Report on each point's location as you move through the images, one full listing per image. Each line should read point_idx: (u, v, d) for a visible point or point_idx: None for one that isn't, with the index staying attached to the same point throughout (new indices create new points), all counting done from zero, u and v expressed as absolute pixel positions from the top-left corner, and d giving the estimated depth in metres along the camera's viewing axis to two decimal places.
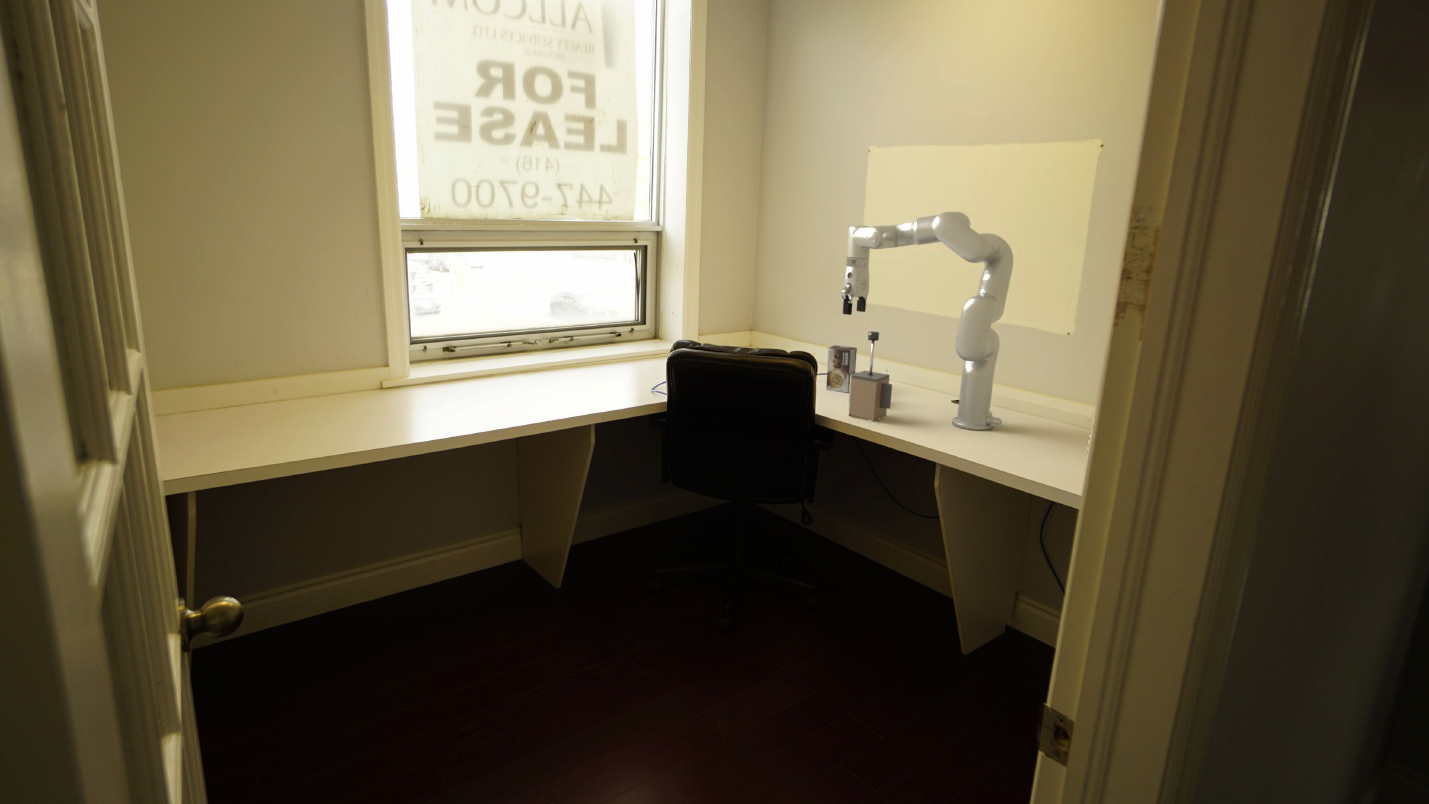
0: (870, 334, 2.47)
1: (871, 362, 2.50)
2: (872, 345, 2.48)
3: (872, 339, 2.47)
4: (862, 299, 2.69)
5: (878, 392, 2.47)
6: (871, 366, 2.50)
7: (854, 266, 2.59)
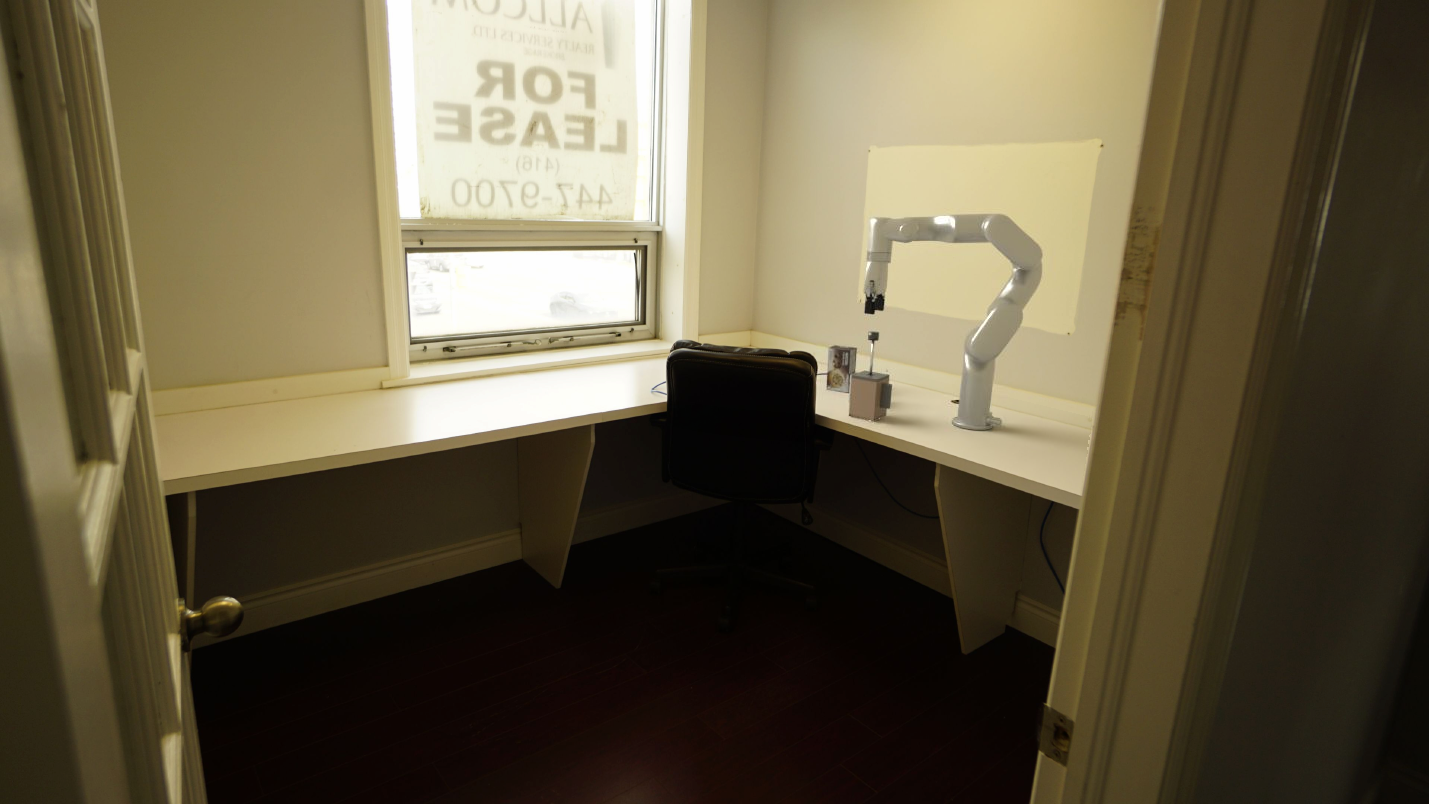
0: (870, 334, 2.47)
1: (871, 362, 2.50)
2: (872, 345, 2.48)
3: (872, 339, 2.47)
4: None
5: (878, 392, 2.47)
6: (871, 366, 2.50)
7: None
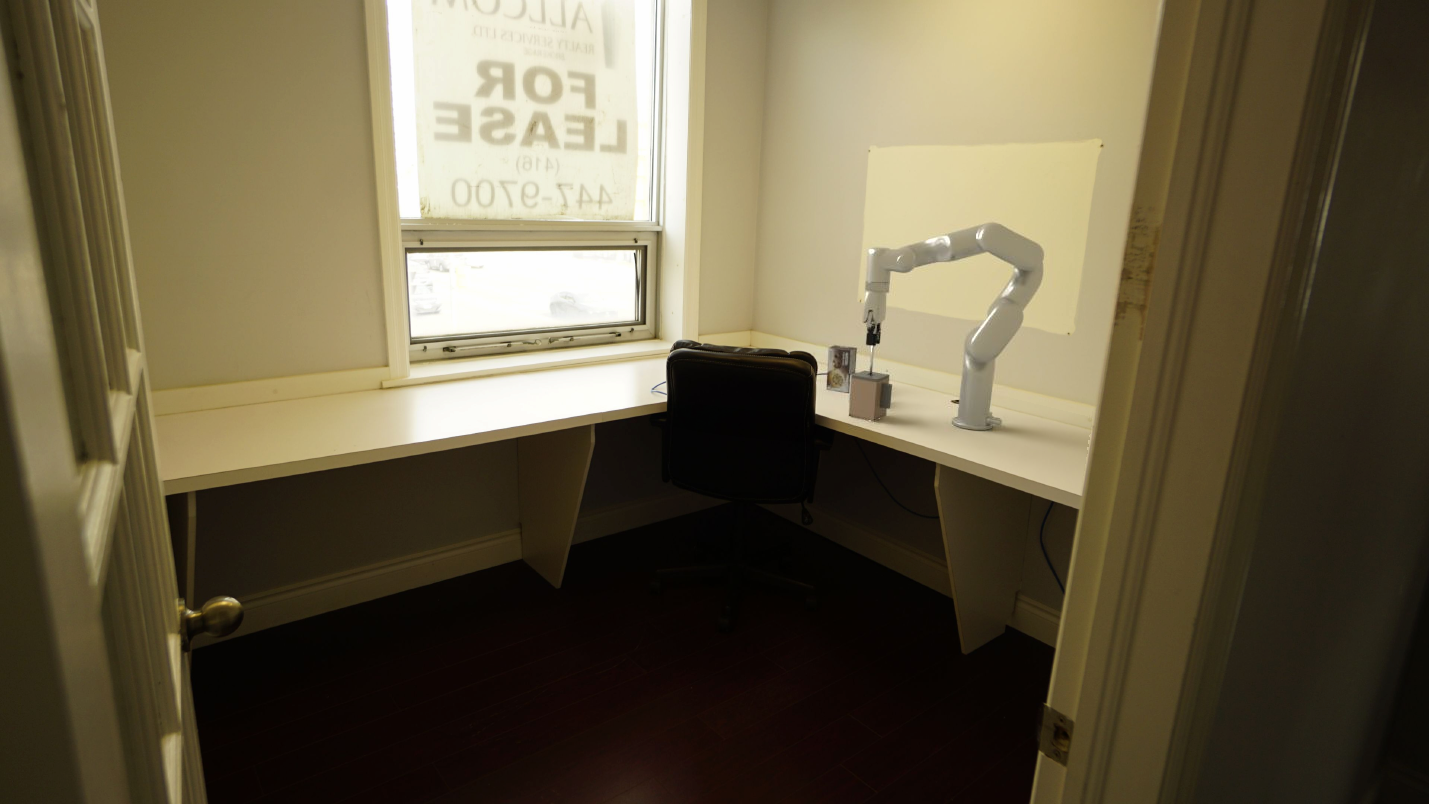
0: None
1: (871, 362, 2.50)
2: None
3: None
4: None
5: (878, 392, 2.47)
6: (871, 366, 2.50)
7: None
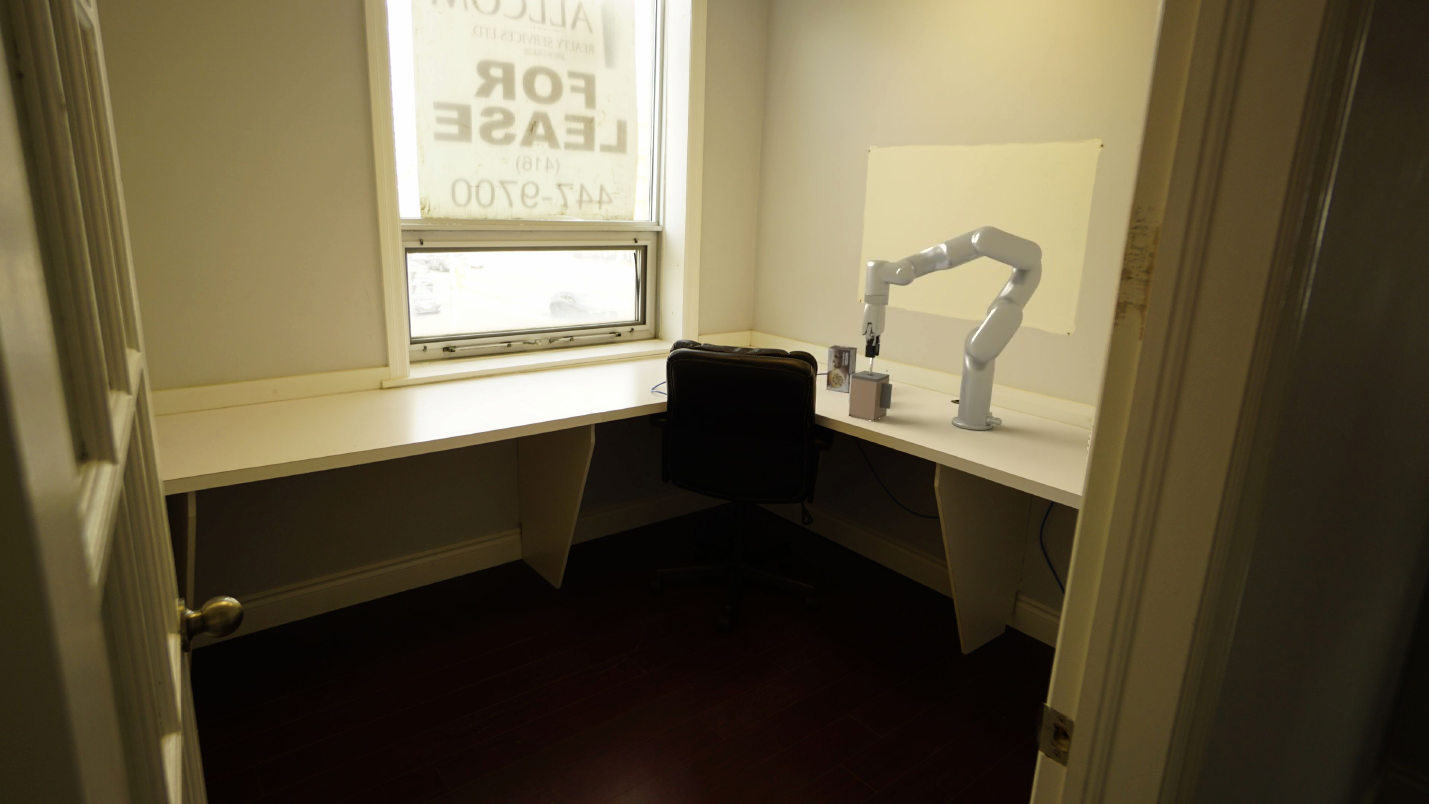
0: None
1: (870, 374, 2.51)
2: None
3: None
4: None
5: (878, 392, 2.47)
6: None
7: None
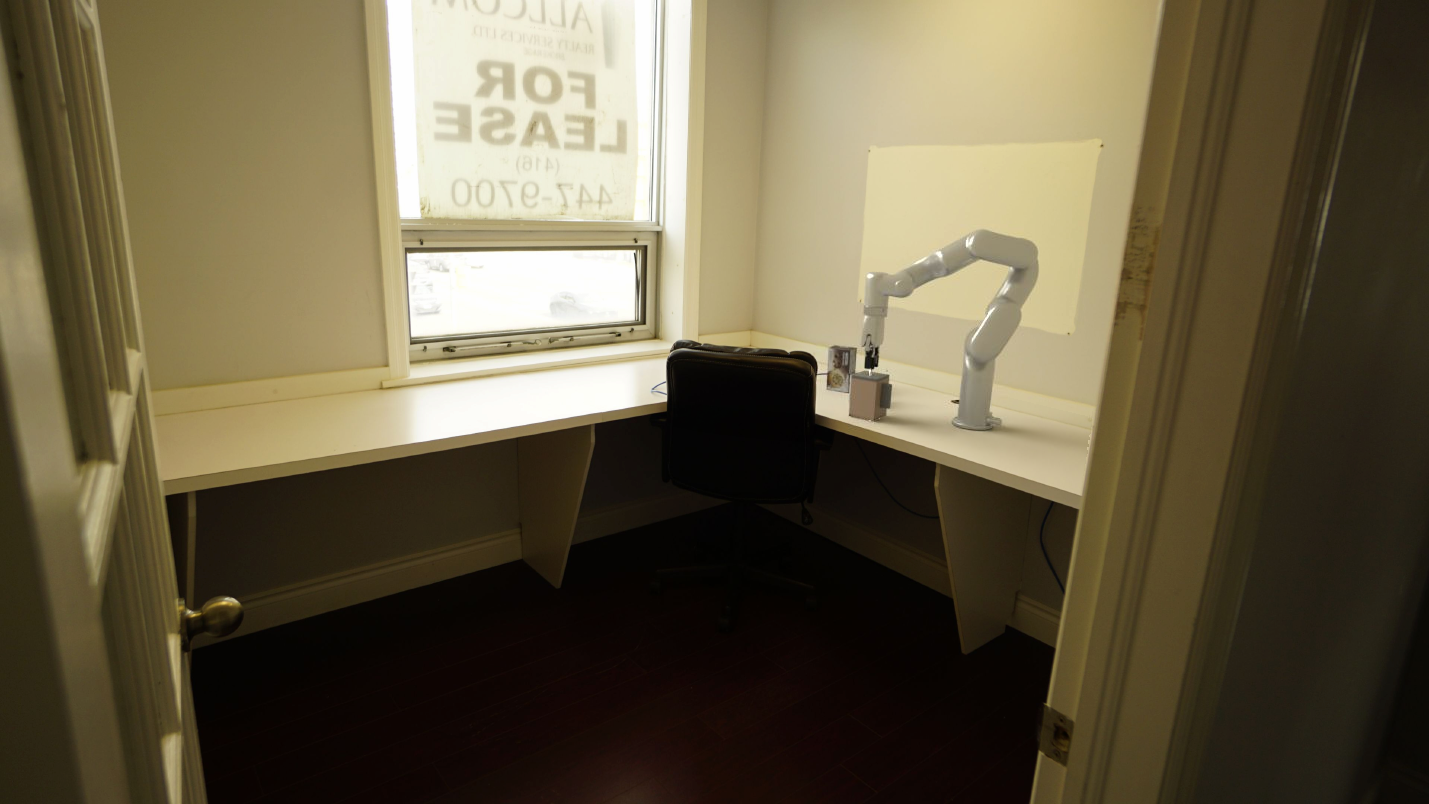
0: None
1: None
2: None
3: None
4: None
5: (878, 392, 2.47)
6: None
7: None
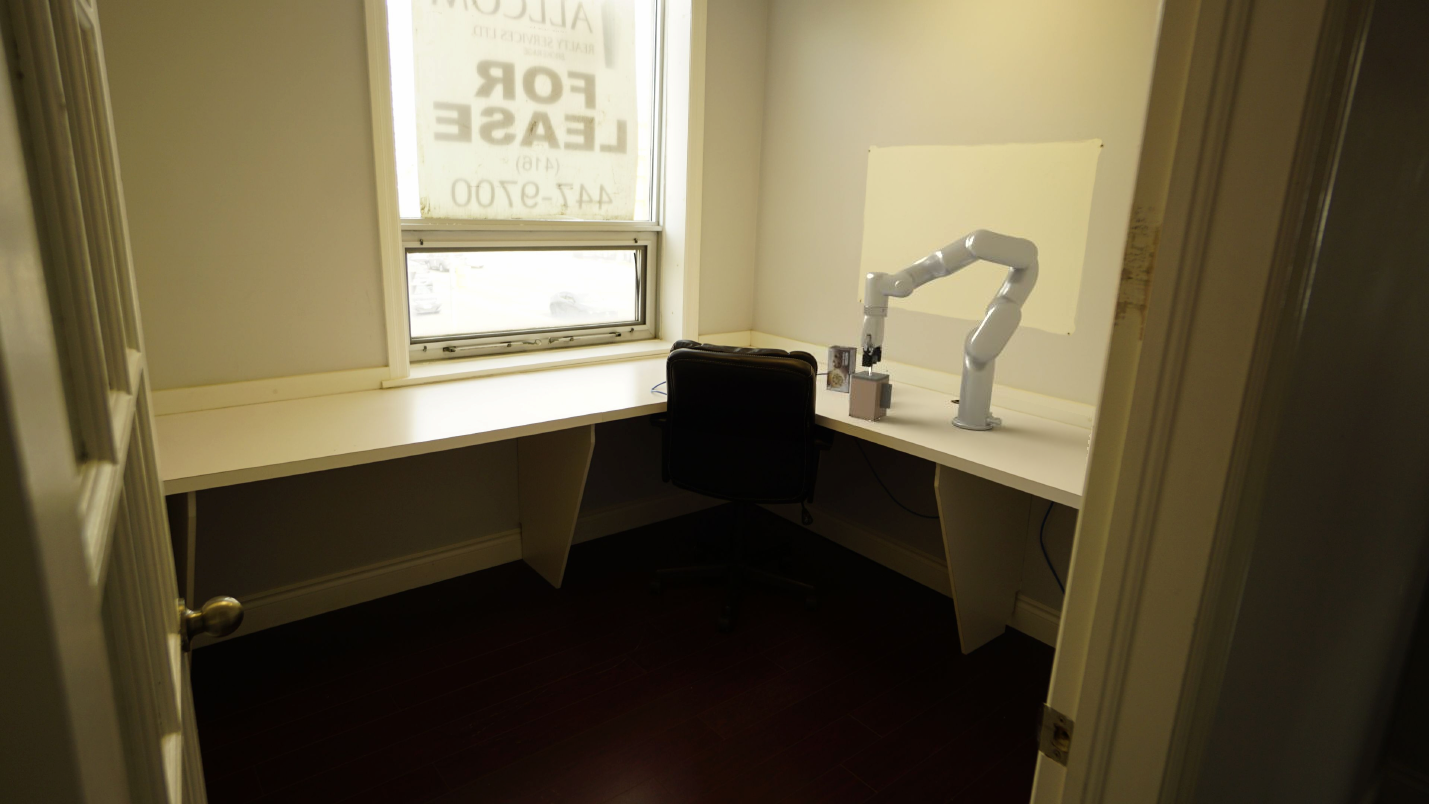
0: None
1: None
2: (870, 368, 2.50)
3: None
4: None
5: (878, 392, 2.47)
6: None
7: None
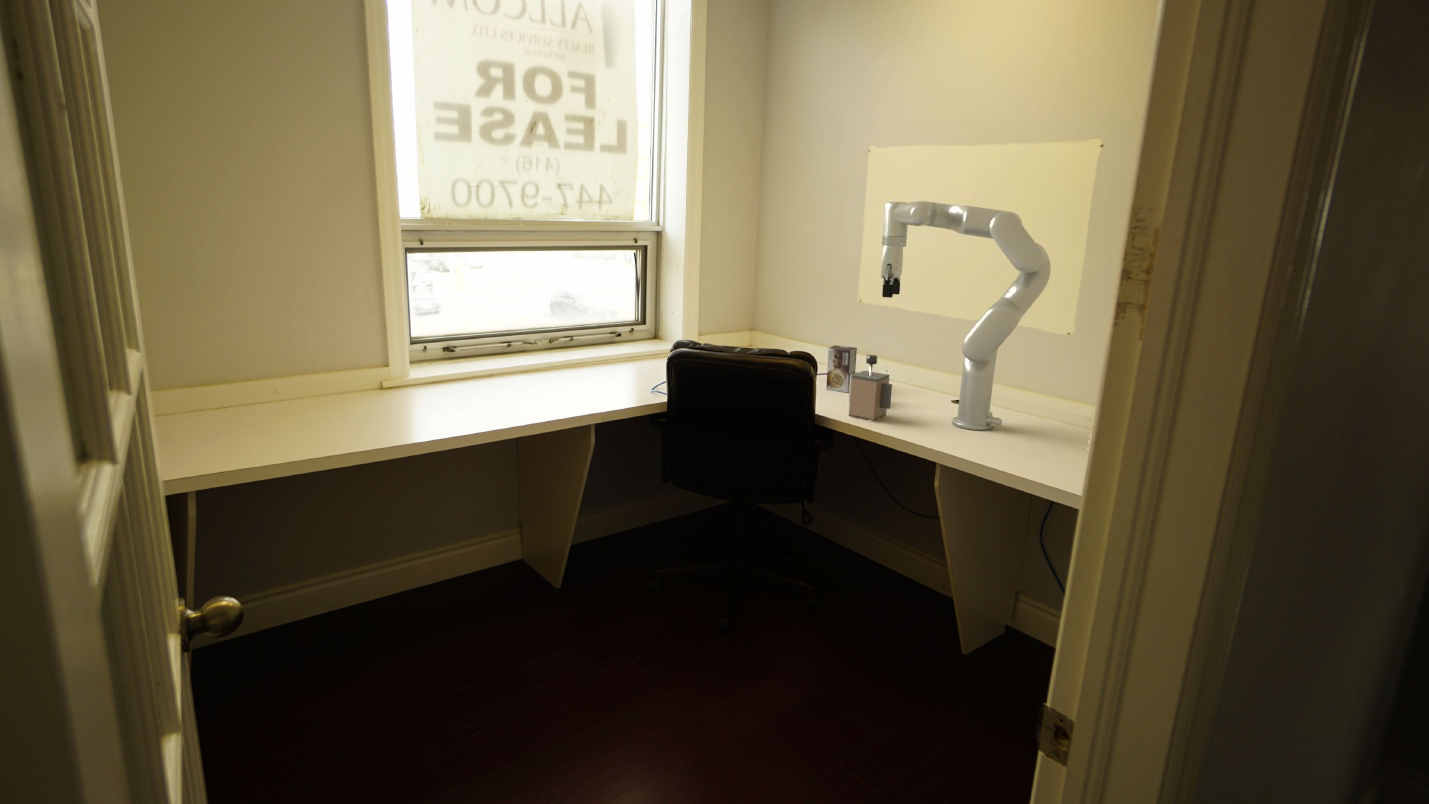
0: (868, 358, 2.49)
1: None
2: (870, 368, 2.50)
3: (870, 363, 2.49)
4: None
5: (878, 392, 2.47)
6: None
7: None
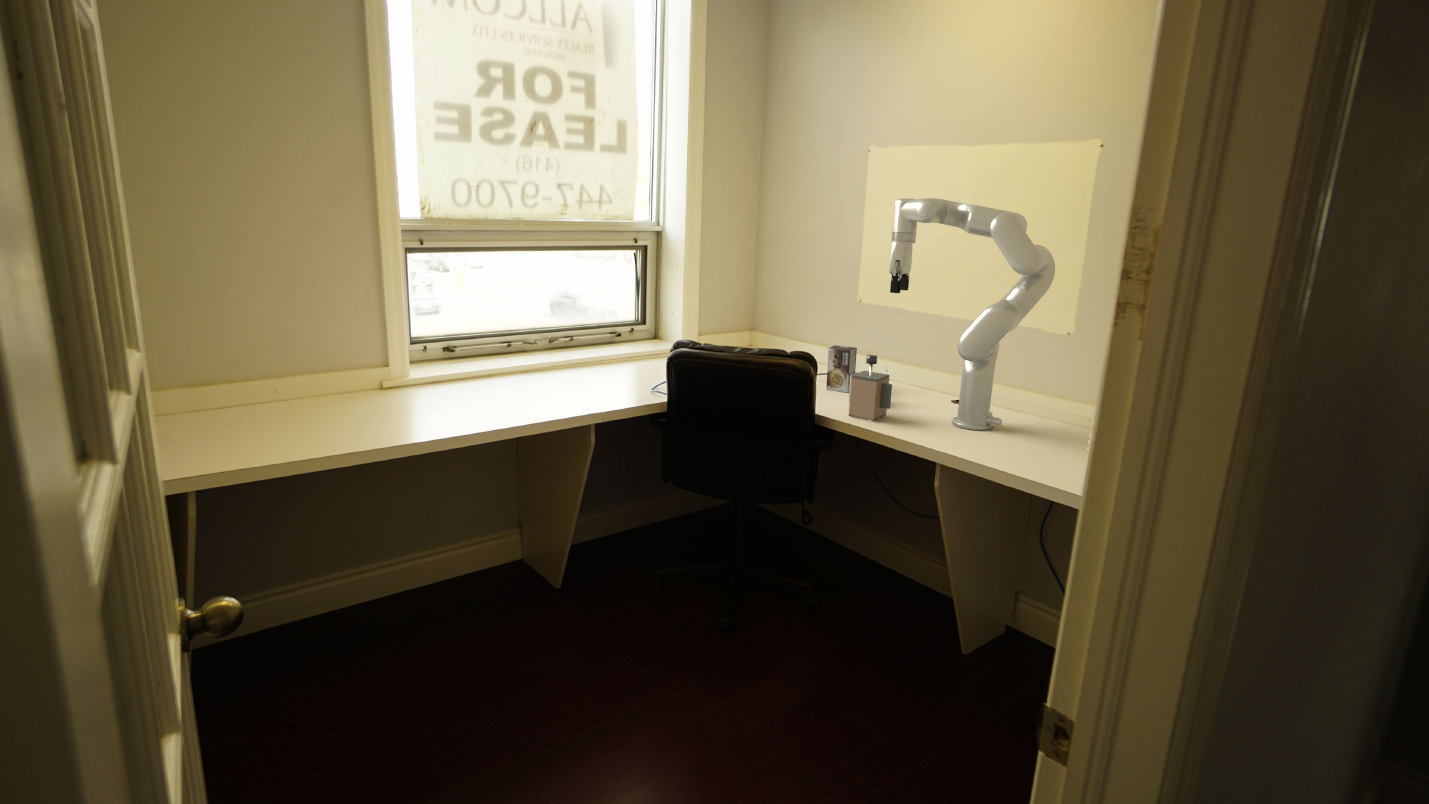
0: (868, 358, 2.49)
1: None
2: (870, 368, 2.50)
3: (870, 363, 2.49)
4: None
5: (878, 392, 2.47)
6: None
7: None
